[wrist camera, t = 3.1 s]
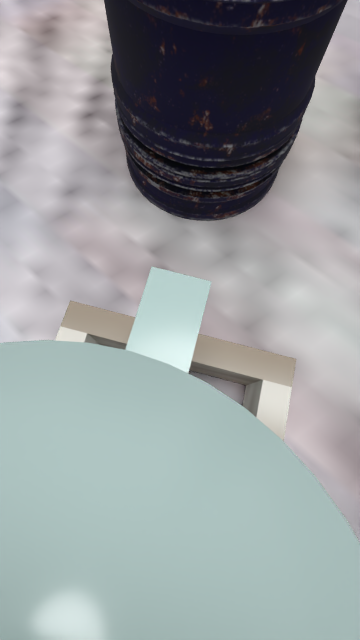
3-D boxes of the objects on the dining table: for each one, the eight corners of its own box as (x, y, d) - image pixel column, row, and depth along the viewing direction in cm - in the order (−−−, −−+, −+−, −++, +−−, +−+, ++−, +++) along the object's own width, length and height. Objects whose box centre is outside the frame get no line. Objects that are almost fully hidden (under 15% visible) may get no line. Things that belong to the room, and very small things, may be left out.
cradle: (237, 575, 13) (256, 622, 10) (19, 510, 14) (-22, 538, 11) (273, 368, 16) (296, 358, 13) (88, 320, 16) (70, 300, 13)
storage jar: (264, 240, 18) (646, -461, 3) (104, 201, 18) (-145, -553, 4) (290, 114, 21) (562, -564, 6) (150, 83, 21) (103, -611, 7)
